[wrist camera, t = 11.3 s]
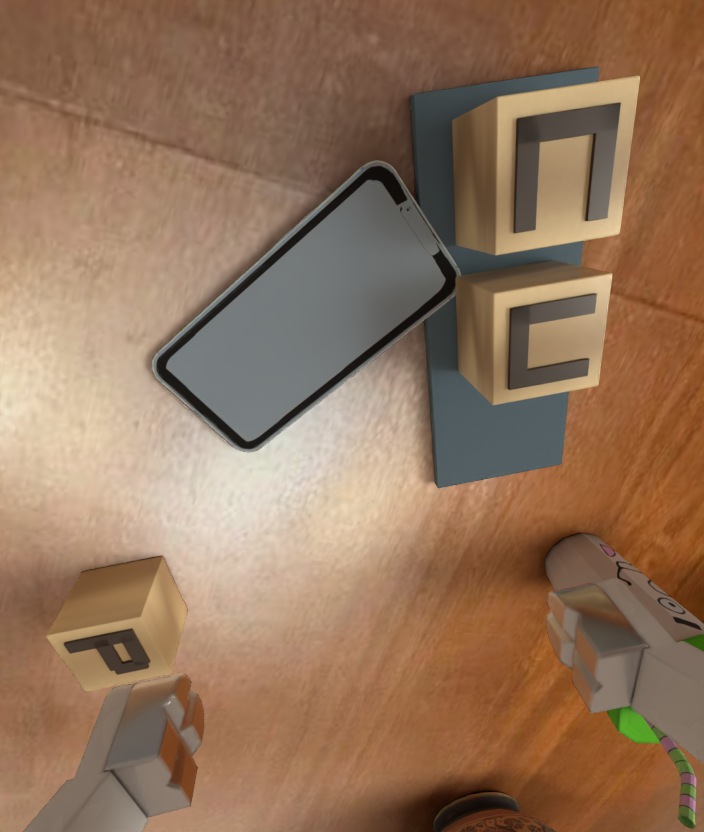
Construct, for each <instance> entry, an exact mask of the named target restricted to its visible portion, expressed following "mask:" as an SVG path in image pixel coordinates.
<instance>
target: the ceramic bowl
mask: <svg viewBox="0 0 704 832" xmlns="http://www.w3.org/2000/svg"><path fill="white" fill-rule="evenodd" d="M433 829H434V832H556V831H555V830H554V829H552V828H551V827H549V826H548V825H546V824H545V823H543V822H541V821H539V820H537V819H535V818H533V817H531V816H529V815H526V814H523V813H521V812H519V805H518V802H517V801H516V800H515V799H514V798H512V797H510V796H508V795H505V794H503V793H498V792H484V793H478V794H472V795H468V796H466V797H463V798H459V799H457V800H455V801H454V802H452V803H451V804H449V805H447V806H445V807H444V808H443V809H442V810H441V811H440V812H439V813H438V814H437V816H436V818H435V820H434V825H433Z"/></svg>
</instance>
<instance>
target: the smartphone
mask: <svg viewBox="0 0 704 832" xmlns="http://www.w3.org/2000/svg"><path fill="white" fill-rule="evenodd" d="M297 224H298V225H297V226H296V227H294V228H292V229H291V230H289V231H288V232H287V233H286V234H285V235H284V236H283V237H282V238H281V239H279V240H278V241H277V244H276V245H275V246H273V247H272V248H271V249H270V250H269V251H268V252H267V253H266V254H265V255H264V256H262V257H261V258H260V259H259V260H258V261H257V262H256V263H255V264H254V265H253V266H251V267H250V268H249V269H248V270H247V271H246V272H245V273H244V274H243V275H242V276H240V277H239V278H238V279H237V280H236V281H235V282H234V283H233V284H232V285H231V286H229V287H228V288H227V289H226V290H225V291H224V292H223V293H222V294H221V295H220V296H218V297H217V298H216V299H215V300H214V301H213V302H212V303H211V304H210V305H209V306H207V307H206V308H205V309H204V310H203V311H202V312H201V313H200V314H199V315H198V316H196V317H195V318H194V319H193V320H192V321H191V322H190V323H189V324H188V325H187V326H185V327H184V328H183V329H182V330H181V331H180V332H179V333H178V334H177V335H176V336H174V337H173V338H172V339H171V340H170V341H169V342H168V343H167V344H166V345H165V346H163V347H162V348H161V349H160V350H159V351H158V352H157V353H156V354H155V355H154V357H153V360H152V371H153V373H154V375H155V377H156V378H157V379H158V380H159V381H160V382H161V383H162V384H163V385H164V386H165V387H166V388H168V389H169V390H170V391H171V392H172V393H173V394H174V395H175V396H177V397H178V398H179V399H180V400H181V401H182V402H183V403H184V404H186V405H187V406H188V407H189V408H190V409H191V410H192V411H194V412H195V413H196V414H197V415H198V416H199V417H200V418H201V419H203V420H204V421H205V422H206V423H207V424H208V425H209V426H210V427H212V428H213V429H214V430H215V431H216V432H217V433H218V434H220V435H221V436H222V437H223V438H224V439H225V440H226V441H227V442H229V443H230V444H231V445H232V446H233V447H234V448H236V449H237V450H240V451H243V452H254V451H257V450H259V449H260V448H262V447H263V446H264V445H266V444H267V443H268V442H270V441H271V440H272V439H273V438H275V437H276V436H277V435H278V434H280V433H281V432H282V431H284V430H285V429H286V428H287V427H289V426H290V425H291V424H293V423H294V422H295V421H296V420H298V419H299V418H300V417H301V416H303V415H304V414H305V413H307V412H308V411H309V410H310V409H312V408H313V407H314V406H315V405H317V404H318V403H319V402H321V401H322V400H323V399H324V398H326V397H327V396H328V395H330V394H331V393H332V392H333V391H335V390H336V389H337V388H338V387H340V386H341V385H342V384H344V383H345V382H346V381H347V380H349V379H350V378H351V377H353V376H354V375H355V374H356V373H358V372H359V371H360V370H361V369H363V368H364V367H365V366H367V365H368V364H369V363H370V362H372V361H373V360H374V359H376V358H377V357H378V356H379V355H381V354H382V353H383V352H384V351H386V350H387V349H388V348H390V347H391V346H392V345H393V344H395V343H396V342H397V341H398V340H400V339H401V338H402V337H404V336H405V335H406V334H407V333H409V332H410V331H411V330H413V329H414V328H415V327H416V326H418V325H419V324H420V323H421V322H423V321H424V320H425V319H427V318H428V317H429V316H430V315H432V314H433V313H434V312H436V311H437V310H438V309H439V308H441V307H442V306H443V305H444V304H446V303H447V302H448V301H450V300H451V299H452V298H453V297H454V296H455V295H456V280H455V278H456V277H457V276H461V273H460V270H459V268H458V266H457V265H456V263H455V262H454V260H453V258H452V257H451V255H450V254H449V252H448V251H447V249H446V248H445V246H444V244H443V243H442V241H441V240H440V238H439V237H438V235H437V234H436V232H435V230H434V229H433V227H432V226H431V224H430V223H429V221H428V219H427V218H426V216H425V215H424V213H423V212H422V210H421V209H420V207H419V205H418V204H417V202H416V201H415V199H414V198H413V196H412V195H411V193H410V191H409V190H408V188H407V187H406V185H405V184H404V182H403V180H402V179H401V177H400V176H399V174H398V173H397V171H396V170H395V169H394V167H393V166H391V165H390V164H389V163H387V162H384V161H380V160H375V161H371V162H368V163H366V164H365V165H363V166H362V167H360V168H359V169H358V170H357V171H356V172H355V173H354V174H353V175H352V176H351V177H349V178H348V179H347V180H346V181H345V182H344V183H343V184H342V185H341V186H340V187H338V188H337V189H336V190H335V191H334V192H333V193H332V194H330V195H329V196H328V197H327V198H326V199H324V200H323V202H322V203H321V204H320V205H319V206H318V207H316V208H314V209H313V210H311V211H310V212H309V213H308V214H307V215H306V216H305V217H304V218H303V219H302V220H300V221H299V222H298V223H297Z"/></svg>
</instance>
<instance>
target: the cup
mask: <svg viewBox="0 0 704 832" xmlns="http://www.w3.org/2000/svg"><path fill="white" fill-rule="evenodd" d="M545 570H546V573H547V575H548V578H549V580H550V582H551V584H552V586H553V588H554V590H555V591H556V590H561V589H565V588H569V587H573V586H577V585H582V584H586V583H590V582H591V583H594V582H598V581H602V580H606V579H610V578H617V579H619V580H621V581H622V582H623V583H624V584H625V585H626V586H627V588H628V589H629V590H630V591H631V592H632V593H633V594H634V595H635V596H636V598H637V599H638V600H639V601H640V602H641V603H642V604H643V605H644V607H645V608H646V609H647V610H648V611H649V612H650V613H651V614H652V616H653V617H654V618H655V619H656V620H657V621H658V622H659V623H660V624H661V626H662V627H663V628H664V629H665V630H666V631H667V632H668V633H669V635H670V636H671V637H672V638H673V639H674V640H675V641H676V642H679V641H685V642H687V643H689V644H690V645H692V646H694V647H696V648H698V649H700V650H702V651H704V624H703V623H702V622H701V621H700V620H698V619H697V618H696V617H695V616H694V615H692V614H691V613H690V612H689V611H687V610H686V609H685V608H684V607H683V606H681V605H680V604H679V603H678V602H676V601H675V600H674V599H673V598H672V597H670V596H669V595H668V594H667V593H666V592H664V591H663V590H662V589H661V588H659V587H658V586H657V585H656V584H655V583H653V582H652V581H651V580H650V579H648V578H647V577H646V576H645V575H644V574H642V573H641V572H640V571H639V570H638V569H636V568H635V567H634V566H633V565H631V564H630V563H629V562H628V561H627V560H625V559H624V558H623V557H622V556H620V555H619V554H618V553H617V552H616V551H614V550H613V549H612V548H611V547H610V546H608V545H607V544H606V543H605V542H603V541H602V540H601V539H600V538H599V537H597V536H596V535H591V534H585V533H580V534H577V535H573V536H570V537H567V538H565V539H563V540H562V541H561V542H559V543H558V544H557V545H555V546H554V547H553V548H552V549H551V550H550V552H549V554H548V556H547V557H546V559H545ZM631 706H632V705H631ZM631 706H626V707H621V708H616V709H611V710H607V714H608V715H609V717H610V719H611V720H612V722H613V723H614V725H615V727H616V728H617V730H618V731H619V732H620V733H622V734H623V735H625V736H626V737H628V738H629V739H631V740H632V741H634V742H635V743H661V744H662V746H663V747H664V749H665V750H666V752H667V753H668V754H669V756H670V757H671V759H672V760H673V762H674V763H675V765H676V766H677V768H678V771H679V773H680V776H681V790H680V804H679V817H678V819H679V820H680V822H681V823H682V824H683V825H684V826H686V827H688V828H691V829H693V828H695V801H696V777H695V775H694V772H693V769H692V767H691V765H690V764H689V762H688V761H687V759H686V758H685V756H684V755H683V754H682V752H681V751H680V749H679V748H678V746H677V745H676V744H675V742H674V741H673V740H672V739H671V738H669V737H668V736H667V735H665V734H664V733H663V732H662V731H660V730H659V729H658V728H656V727H655V726H654V725H652V724H651V723H650V722H649V721H647V720H646V719H645V718H643V717H642V716H641V715H639V714H638V713H637V712H636V711H634V710H633V709H632V708H631Z"/></svg>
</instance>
